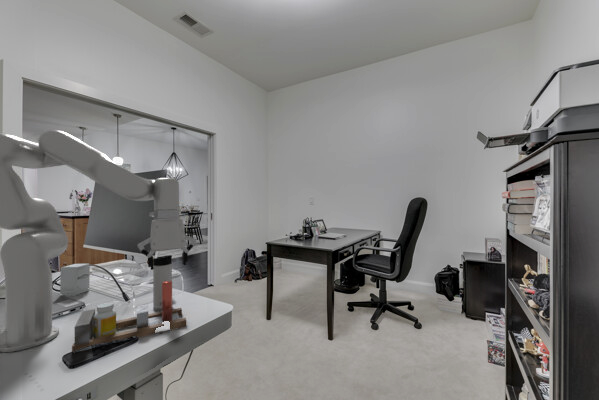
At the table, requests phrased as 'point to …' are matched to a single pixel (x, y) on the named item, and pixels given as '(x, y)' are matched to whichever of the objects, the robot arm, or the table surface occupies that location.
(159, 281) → the travel mug
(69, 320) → the table surface
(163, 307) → the vise slider
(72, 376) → the table surface
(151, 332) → the vise bench
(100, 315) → the supplement bottle
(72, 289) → the supplement box
